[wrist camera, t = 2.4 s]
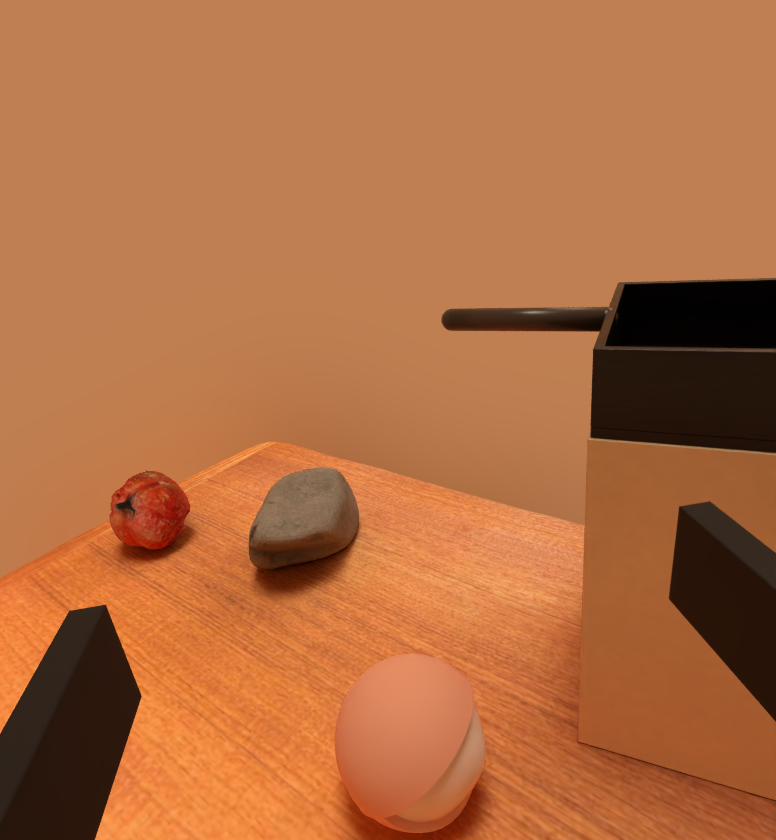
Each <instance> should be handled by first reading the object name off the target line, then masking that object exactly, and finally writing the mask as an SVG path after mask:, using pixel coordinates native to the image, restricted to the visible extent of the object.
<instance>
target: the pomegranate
mask: <svg viewBox="0 0 776 840" xmlns="http://www.w3.org/2000/svg"><path fill="white" fill-rule="evenodd" d="M111 511H112V512H111V514H110V523H111V526H112V529H113V531H114V533H115V534H116V536H117V537H118V538H119V539H120V540H121V541H123V542H124V543H125V544H127V545H129V546H132V547H136V546H137V547H142V546H143V547H145V548H148V549H153V550H156V549H162V548H164V547H167V546H169V545H170V544H172V543H173V542H175V540H176V539H177V538H178V537H179V536H180V534H181V533H182V532H183V530H184V523H183V522H184V519H185V517H186V515H187V514H188V513H189V512H190V504H189V501H188V498H187V496H186V495H185V493H184V491H183V490H182V489H181V488H180V487H179V485H177V484H176V482H174V481H173V480H172V479H170V478H169V477H167V476H165V475H164V474H162V473H159V472H155V471H146V472H143V473H139V474H137V475H135V476H133V477H131V478H130V479H128V480H127V482H126V483H125V485H124V486H123V487H121V488H120V489H119V490H117V491H115V493H114V494H113V496H112V502H111Z"/></svg>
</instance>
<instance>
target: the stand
mask: <svg viewBox="0 0 776 840" xmlns="http://www.w3.org/2000/svg"><path fill="white" fill-rule="evenodd" d="M590 430H591V429H590ZM586 471H587V472H586V501H585V503H586V504H585V532H584V563H583V595H582V626H581V657H580V689H579V720H578V741H579V742H582V743H585V744H588V745H592V746H595V747H598V748H602V749H605V750H608V751H612V752H615V753H618V754H622V755H625V756H628V757H632V758H635V759H638V760H642V761H645V762H649V763H652V764H655V765H659V766H662V767H665V768H669V769H672V770H675V771H679V772H682V773H685V774H689V775H692V776H695V777H699V778H702V779H705V780H709V781H712V782H715V783H719V784H722V785H725V786H729V787H732V788H735V789H739V790H742V791H746V792H749V793H752V794H756V795H759V796H762V797H766V798H769V799H772V800H776V722H775V720H774V719H773V718H772V717H771V716H770V715H769V714H768V712H767V711H766V710H765V709H764V708H763V707H762V706H761V704H760V703H759V702H758V701H757V700H756V699H755V697H754V696H753V695H752V694H751V693H750V692H749V691H748V689H747V688H746V687H745V686H744V685H743V684H742V683H741V681H740V680H739V679H738V678H737V677H736V676H735V675H734V673H733V672H732V671H731V670H730V669H729V668H728V666H727V665H726V664H725V663H724V662H723V661H722V660H721V658H720V657H719V656H718V655H717V654H716V653H715V652H714V650H713V649H712V648H711V647H710V646H709V645H708V644H707V642H706V641H705V640H704V639H703V638H702V637H701V636H700V634H699V633H698V632H697V631H696V630H695V629H694V627H693V626H692V625H691V624H690V623H689V622H688V621H687V619H686V618H685V617H684V616H683V615H682V614H681V613H680V611H679V610H678V609H677V608H676V607H675V606H674V605H673V603H672V602H671V601H670V600H669V591H670V582H671V574H672V565H673V556H674V547H675V538H676V530H677V521H678V512H679V506H685V505H691V504H697V503H702V502H708V501H710V502H712V503H713V504H714V505H715V506H717V507H718V508H719V509H720V510H722V511H723V512H724V513H726V514H727V515H728V516H729V517H731V518H732V519H733V520H734V521H736V522H737V523H738V524H740V525H741V526H742V527H743V528H745V529H746V530H747V531H748V532H750V533H751V534H752V535H753V536H755V537H756V538H757V539H759V540H760V541H761V542H762V543H764V544H765V545H766V546H767V547H769V548H770V549H771V550H773V551H774V552H775V553H776V453H773V452H761V451H749V450H736V449H724V448H711V447H699V446H687V445H674V444H662V443H650V442H637V441H625V440H612V439H600V438H591V437H590V432H589V436H588V440H587V469H586Z"/></svg>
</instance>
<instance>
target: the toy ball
mask: <svg viewBox="0 0 776 840" xmlns="http://www.w3.org/2000/svg"><path fill="white" fill-rule="evenodd" d="M335 752H336V759H337V765H338V769H339V772H340V775H341V778H342V781H343V783H344V785H345V787H346V789H347V791H348V793H349V795H350V796H351V798H352V799H353V801H354V802H355V804H356V805H357V806H358V807H359V809H360V810H361V811H362V812H363V813H364V814H365V815H366V816H368V817H370V818H373V819H374V820H376V821H377V822H379V823H381V824H382V825H384V826H387V827H389V828H391V829H394V830H397V831H402V832H408V833H426V832H432V831H436V830H439V829H441V828H443V827H445V826H447V825H448V824H450V823H451V822H452V821H453V820H455V819H456V818H457V816H458V815H459V814H460V813H461V812H462V810H463V809H464V807H465V806H466V804H467V802H468V800H469V798H470V795H471V792H472V789H473V788H474V786H475V785H476V783H477V781H478V780H479V778H480V776H481V774H482V771H483V769H484V766H485V762H486V741H485V735H484V731H483V727H482V723H481V720H480V717H479V714H478V711H477V709H476V707H475V705H474V703H473V690H472V686H471V684H470V682H469V680H468V679H467V678H466V677H465V676H464V675H463V674H462V673H460V672H459V671H458V670H457V669H455V668H454V667H452V666H451V665H449V664H448V663H446V662H444V661H442V660H440V659H437V658H435V657H431V656H428V655H422V654H401V655H396V656H392V657H389V658H386V659H384V660H382V661H380V662H378V663H376V664H375V665H373V666H372V667H370V668H369V669H368V670H366V671H365V672H364V673H363V674H362V675H361V676H360V677H359V678H358V679H357V680H356V682H355V683H354V684H353V685H352V687H351V688H350V690H349V692H348V693H347V695H346V697H345V699H344V701H343V704H342V706H341V709H340V712H339V715H338V719H337V724H336V732H335Z"/></svg>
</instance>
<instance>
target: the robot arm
mask: <svg viewBox="0 0 776 840" xmlns="http://www.w3.org/2000/svg"><path fill="white" fill-rule="evenodd" d="M669 600H670V601H671V602H672V603H673V605H674V606H675V607H676V608H677V609H678V610H679V611H680V613H681V614H682V615H683V616H684V617H685V618H686V619H687V621H688V622H689V623H690V624H691V625H692V626H693V627H694V629H695V630H696V631H697V632H698V633H699V634H700V636H701V637H702V638H703V639H704V640H705V641H706V642H707V644H708V645H709V646H710V647H711V648H712V649H713V650H714V652H715V653H716V654H717V655H718V656H719V657H720V658H721V660H722V661H723V662H724V663H725V664H726V665H727V666H728V668H729V669H730V670H731V671H732V672H733V673H734V675H735V676H736V677H737V678H738V679H739V680H740V681H741V683H742V684H743V685H744V686H745V687H746V688H747V689H748V691H749V692H750V693H751V694H752V695H753V696H754V697H755V699H756V700H757V701H758V702H759V703H760V704H761V706H762V707H763V708H764V709H765V710H766V711H767V712H768V714H769V715H770V716H771V717H772V718H773V719H774V720H775V722H776V553H775V552H774V551H773V550H771V549H770V548H769V547H767V546H766V545H765V544H764V543H762V542H761V541H760V540H759V539H757V538H756V537H755V536H753V535H752V534H751V533H750V532H748V531H747V530H746V529H745V528H743V527H742V526H741V525H740V524H738V523H737V522H736V521H734V520H733V519H732V518H731V517H729V516H728V515H727V514H726V513H724V512H723V511H722V510H720V509H719V508H718V507H717V506H715V505H714V504H713V503H712V502H710V501H708V502H702V503H697V504H691V505H685V506H679V512H678V521H677V530H676V538H675V547H674V556H673V565H672V574H671V582H670V591H669ZM141 697H142V696H141V693H140V691H139V688H138V686H137V683H136V681H135V678H134V676H133V673H132V670H131V668H130V665H129V663H128V660H127V658H126V655H125V653H124V650H123V648H122V645H121V642H120V640H119V637H118V635H117V632H116V630H115V627H114V625H113V622H112V620H111V617H110V615H109V612H108V609H107V607H106V605H102V606H96V607H90V608H84V609H79V610H73V611H69V613H68V614H67V616H66V618H65V620H64V621H63V623H62V625H61V627H60V629H59V630H58V632H57V634H56V636H55V637H54V639H53V641H52V643H51V645H50V646H49V648H48V650H47V652H46V653H45V655H44V657H43V659H42V661H41V662H40V664H39V666H38V668H37V669H36V671H35V673H34V675H33V677H32V678H31V680H30V682H29V684H28V685H27V687H26V689H25V691H24V693H23V694H22V696H21V698H20V700H19V701H18V703H17V705H16V707H15V709H14V710H13V712H12V714H11V716H10V717H9V719H8V721H7V723H6V725H5V726H4V728H3V730H2V732H1V733H0V840H95V837H96V834H97V831H98V828H99V825H100V822H101V819H102V816H103V813H104V810H105V807H106V804H107V801H108V797H109V794H110V791H111V788H112V785H113V782H114V779H115V776H116V773H117V770H118V767H119V764H120V761H121V758H122V755H123V752H124V749H125V745H126V742H127V739H128V736H129V733H130V730H131V727H132V724H133V721H134V718H135V715H136V712H137V709H138V706H139V703H140V700H141Z"/></svg>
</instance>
